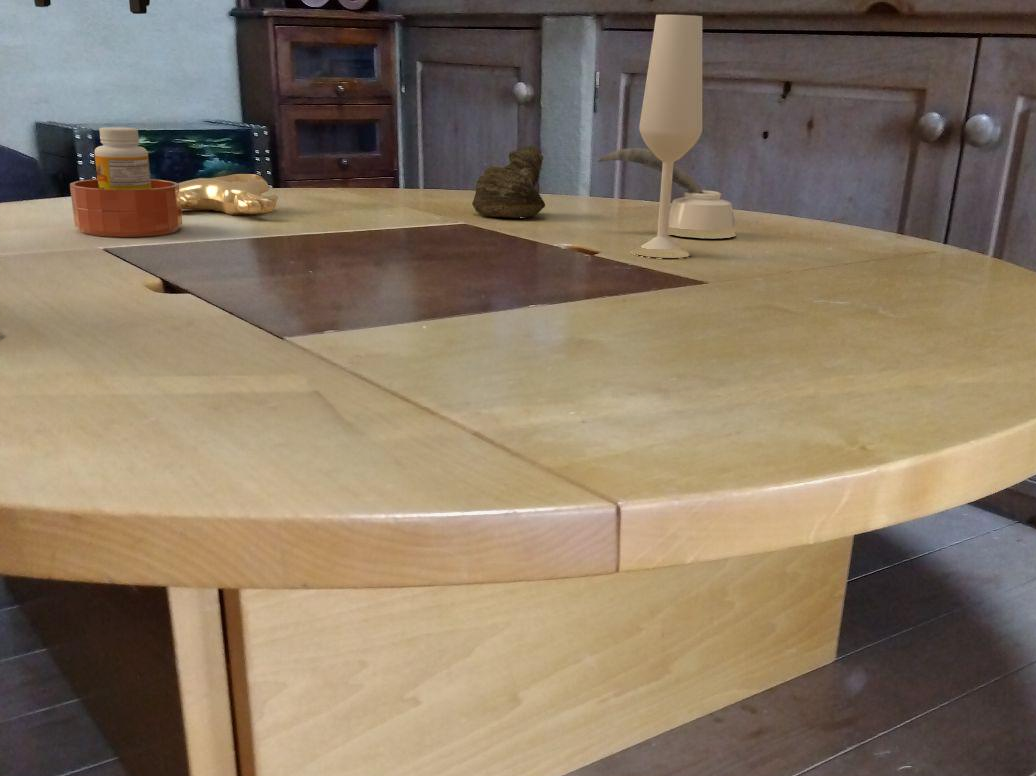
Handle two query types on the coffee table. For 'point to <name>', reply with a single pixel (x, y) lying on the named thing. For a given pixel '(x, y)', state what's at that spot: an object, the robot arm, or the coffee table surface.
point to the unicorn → (228, 194)
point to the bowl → (126, 209)
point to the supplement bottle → (121, 160)
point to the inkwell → (697, 204)
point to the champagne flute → (672, 104)
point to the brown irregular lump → (511, 187)
